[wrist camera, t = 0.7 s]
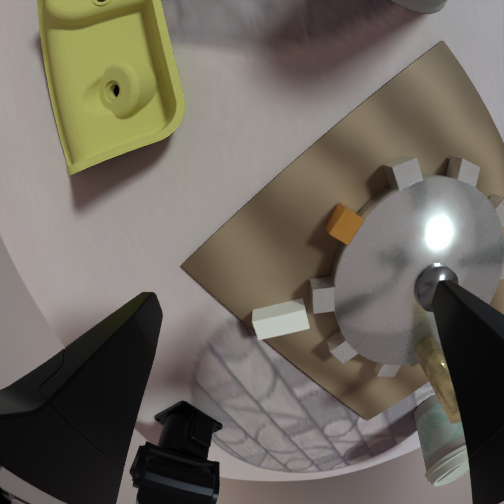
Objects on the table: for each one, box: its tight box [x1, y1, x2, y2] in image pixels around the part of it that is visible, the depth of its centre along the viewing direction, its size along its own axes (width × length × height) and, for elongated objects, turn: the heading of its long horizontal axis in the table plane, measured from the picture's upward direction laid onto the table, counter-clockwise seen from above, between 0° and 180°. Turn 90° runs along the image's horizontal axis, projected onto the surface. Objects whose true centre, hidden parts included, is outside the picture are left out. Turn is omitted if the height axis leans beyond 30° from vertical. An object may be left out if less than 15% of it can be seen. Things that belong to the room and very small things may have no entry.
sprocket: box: [309, 156, 504, 424], centre depth 19 cm, size 21×21×11 cm
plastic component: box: [37, 0, 185, 176], centre depth 16 cm, size 20×7×10 cm
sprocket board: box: [181, 40, 504, 420], centre depth 24 cm, size 30×30×1 cm
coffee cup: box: [414, 395, 470, 487], centre depth 26 cm, size 9×8×12 cm
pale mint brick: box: [252, 298, 310, 340], centre depth 25 cm, size 4×2×2 cm, turn 106°
